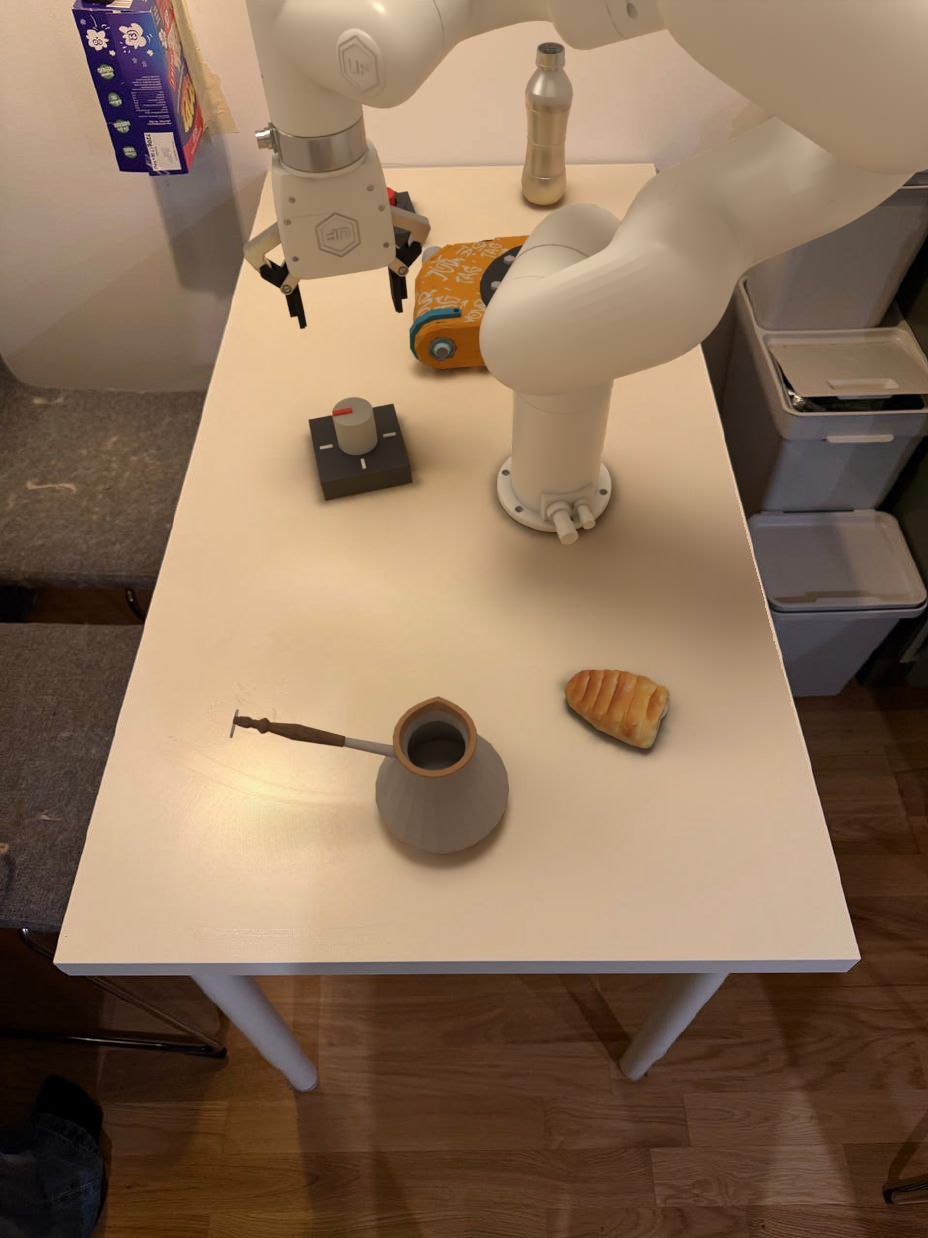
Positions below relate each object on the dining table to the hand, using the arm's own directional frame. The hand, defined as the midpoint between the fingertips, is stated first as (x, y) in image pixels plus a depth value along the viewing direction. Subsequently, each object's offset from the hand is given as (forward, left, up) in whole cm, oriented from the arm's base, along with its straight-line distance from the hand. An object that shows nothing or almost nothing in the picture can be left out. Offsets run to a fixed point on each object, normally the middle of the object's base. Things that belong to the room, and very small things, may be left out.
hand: (350, 312), depth 84 cm
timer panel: (-3, +2, -17) cm, 18 cm away
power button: (+41, -9, -14) cm, 44 cm away
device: (+17, -23, -18) cm, 34 cm away
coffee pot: (-44, +6, -18) cm, 48 cm away
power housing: (+41, -9, -17) cm, 45 cm away
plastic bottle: (+42, -33, -18) cm, 56 cm away
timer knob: (-3, +2, -14) cm, 15 cm away
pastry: (-41, -16, -18) cm, 48 cm away
